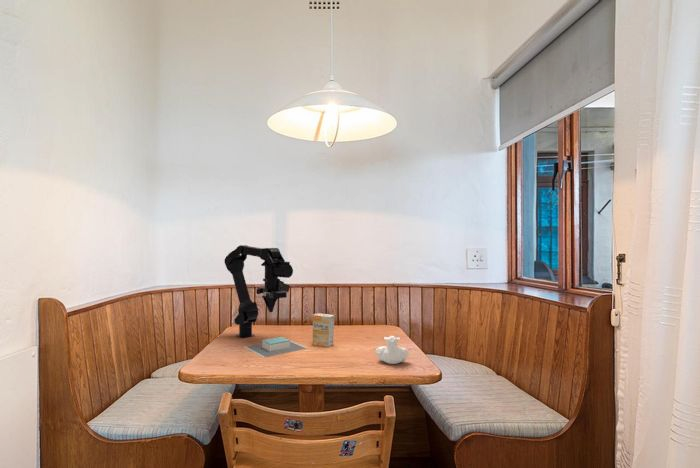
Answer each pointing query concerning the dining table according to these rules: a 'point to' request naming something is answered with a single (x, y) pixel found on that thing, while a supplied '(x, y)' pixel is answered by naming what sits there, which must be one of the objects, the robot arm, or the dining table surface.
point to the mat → (266, 353)
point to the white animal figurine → (392, 351)
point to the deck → (276, 344)
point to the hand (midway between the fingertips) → (270, 312)
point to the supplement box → (323, 330)
